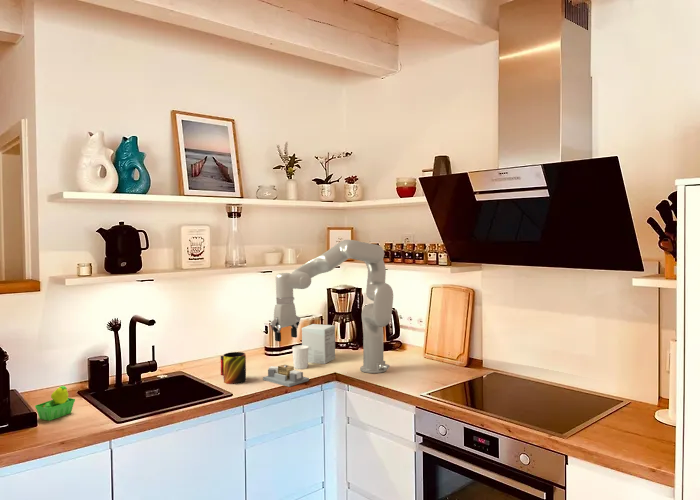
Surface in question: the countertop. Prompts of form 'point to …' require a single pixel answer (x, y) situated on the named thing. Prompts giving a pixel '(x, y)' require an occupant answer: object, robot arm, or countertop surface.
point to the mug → (233, 367)
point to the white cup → (300, 356)
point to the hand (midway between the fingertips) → (286, 339)
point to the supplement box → (319, 342)
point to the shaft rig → (285, 377)
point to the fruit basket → (56, 405)
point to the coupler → (285, 370)
